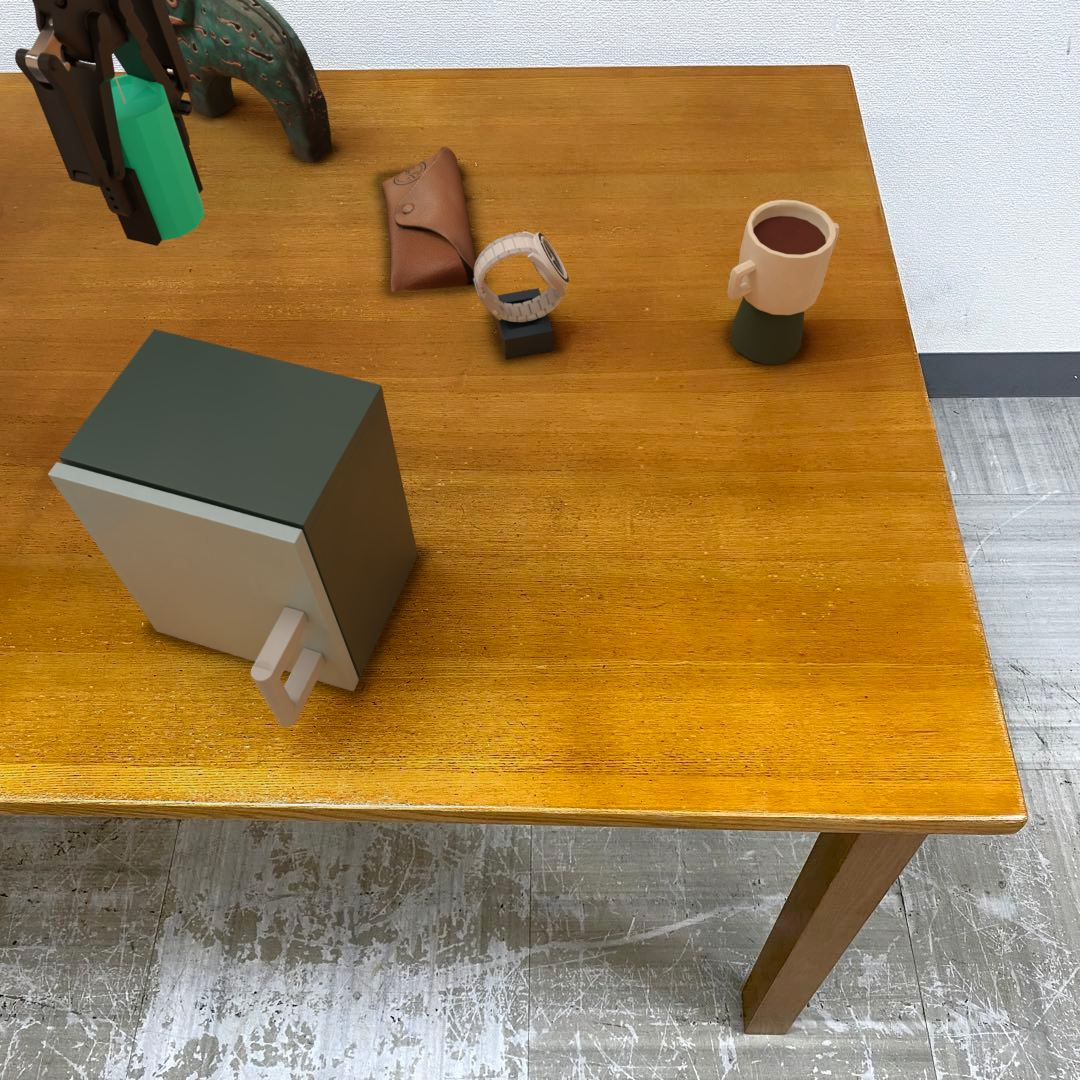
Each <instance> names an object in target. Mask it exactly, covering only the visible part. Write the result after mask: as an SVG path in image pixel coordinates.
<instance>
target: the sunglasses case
mask: <svg viewBox="0 0 1080 1080" xmlns="http://www.w3.org/2000/svg"><path fill="white" fill-rule="evenodd" d="M459 166H460V165H459V163H458V158H457V157H456V153H454V151H453V150H452V149H451V148H449V147H447V146H442V147H441V148H440V149H439V150H438V151H437V153H436V154H433V155H432V156H430V157H429V158H426V159H424V160H423V161H420V162H418V163H417V164H415V165H412V166H411V167H409V168H407V169H405V170H404V171H401V172H399V173H398V174H396V175H395V176H393V177H391V178H389V179H387V180H385V181H383V182H382V183H381V189H382V193H383V194H382V195H383V198H384V202H385V203H384V204H385V208H386V215H387V225H388V237H389V250H390V291H391V292H393V293H396V292H399V291H422V290H423V291H424V290H433V289H444V288H455V287H464V286H471V285H473V287H475V283H474V279H473V278H475V277H474V266H475V263H476V260H477V259H476V255H475V254H476V253H475V248H474V243H473V242H474V241H473V236H472V230H471V225H470V220H469V219H470V218H469V213H468V207H467V203H466V197H465V196H466V195H465V191H464V186H463V180H462V174H461V171H460V167H459Z"/></svg>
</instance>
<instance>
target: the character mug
mask: <svg viewBox="0 0 1080 1080" xmlns="http://www.w3.org/2000/svg"><path fill="white" fill-rule="evenodd" d="M839 234H840V225H839V223H838V222H834V220H833V219H832V218H831V217H830V216H829V215H828V213H827V212H825V211H824V210H822V209H820V208H819V207H817V206H815V205H814V204H810V203H807V202H803V201H801V200H800V201H799V200H796V199H776V200H770V201H767V202H764V203H761V204H760V205H759V206H757V207H756V208H755V209H754V210H752V211H751V213H750V215H749V217H748V220H747V222H746V224H745V227H744V233H743V238H742V240H741V245H740V249H739V259H738V263H737V265H735V266H734V267H733V268H732V269H731V271H730V274H729V279H728V285H727V290H726V292H727V297H728V300H731V301H735V300H738V299H741V301H740V303H739V306H738V309H737V311H736V313H735V317H734V319H733V323H732V326H731V328H730V329H731V330H730V344H731V346H732V347H733V348H734V349H735V351H736V352H737V353H738V354H740V355H742V356H743V357H744V358H747V359H748V360H749V361H752V362H756V363H759V364H763V365H766V366H767V365H781V364H784V363H785V362H788V361H789V360H792V359H793V358H795V356H796V355H797V353H798V352H799V350H800V349H801V347H802V340H803V333H804V322H805V311H807V310H808V309H809V308H810V307H811V306H813V305H815V303H816V302H817V300H818V297H819V295H820V293H821V290H822V288H823V285H824V281H825V279H826V274H827V271H828V267H829V264H830V260H831V256H832V255H833V253H834V250H835V248H836V245H837V241H838V239H839V238H838V237H839Z"/></svg>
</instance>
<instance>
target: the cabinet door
mask: <svg viewBox="0 0 1080 1080" xmlns="http://www.w3.org/2000/svg"><path fill="white" fill-rule="evenodd" d="M47 476H48V477H49V479H50V480H51V481H52V483H53V484H54V486H55V487H56V489H57V490H58V491H59V493H60V495H61V496H62V497H63V499H64V501H65V502H66V503H67V505H68V506H69V507H70V509H71V511H72V512H73V513H74V514H75V516H76V517H77V519H78V520H79V522H80V523H81V525H82V526H83V527H84V530H85V531H86V532H87V534H88V535H89V536H90V538H91V539H92V540H93V542H94V543H95V545H96V546H97V548H98V549H99V551H100V552H101V553H102V555H103V557H104V558H105V559H106V561H107V563H108V564H109V565H110V567H111V568H112V569H113V571H114V572H115V574H116V575H117V576H118V578H119V580H120V581H121V583H122V584H123V585H124V587H125V588H126V590H127V591H128V592H129V594H130V595H131V597H132V598H133V600H134V602H136V604H137V605H138V607H139V608H140V610H141V611H142V613H143V614H144V615H145V617H146V618H147V620H148V621H149V622H150V624H151V625H152V627H153V628H154V630H155V631H156V633H157V632H158V633H161V634H164V635H167V636H170V637H172V638H177V639H181V640H184V641H186V642H190V643H192V644H197V645H200V646H204V647H206V648H210V649H213V650H216V651H219V652H223V653H225V654H230V655H233V656H236V657H239V658H242V659H245V660H248V661H251V662H252V661H253V662H254V664H253V665H252V667H251V669H250V676H251V678H252V680H253V682H254V683H255V685H256V687H257V688H258V691H259V692H260V694H261V695H262V698H263V699H264V701H265V703H266V704H267V707H268V708H269V710H270V711H271V712H272V715H273V717H274V718H275V719H276V722H277V723H278V725H280V726H281V727H283V728H289V727H293V726H294V725H295V724H296V723H297V722H298V720H299V718H300V715H301V714H302V712H303V709H304V707H305V705H307V704H306V703H307V701H308V700H309V698H310V695H311V693H312V692H313V689H314V688H315V685H316V684H317V682H321V683H324V684H327V685H330V686H333V687H337V688H340V689H344V690H347V691H350V692H354V691H355V689H356V688H357V686H358V683H359V681H360V679H359V677H358V676H357V674H356V671H355V668H354V666H353V663H352V660H351V658H350V655H349V652H348V650H347V647H346V645H345V642H344V639H343V637H342V634H341V631H340V629H339V626H338V623H337V621H336V618H335V615H334V613H333V610H332V608H331V605H330V602H329V600H328V597H327V594H326V592H325V589H324V586H323V584H322V581H321V578H320V576H319V573H318V571H317V568H316V565H315V563H314V560H313V557H312V555H311V552H310V549H309V547H308V544H307V541H306V539H305V536H304V534H303V531H302V530H301V529H298V528H294V527H290V526H287V525H283V524H279V523H276V522H272V521H269V520H265V519H261V518H258V517H254V516H251V515H247V514H243V513H240V512H236V511H232V510H229V509H225V508H222V507H218V506H214V505H211V504H207V503H203V502H200V501H196V500H193V499H189V498H185V497H182V496H178V495H174V494H171V493H167V492H164V491H160V490H156V489H153V488H149V487H146V486H142V485H138V484H135V483H131V482H127V481H124V480H120V479H117V478H113V477H109V476H106V475H102V474H98V473H95V472H91V471H88V470H84V469H80V468H77V467H73V466H69V465H66V464H63V463H62V462H58V461H57V462H55V463H54V465H53V466H52V467H51V469H50V470H49V471H48V473H47ZM284 672H288V673H290V674H289V676H288V678H287V680H286V681H285V683H283V682H282V679H281V677H282V675H283V673H284Z"/></svg>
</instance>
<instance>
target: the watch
mask: <svg viewBox="0 0 1080 1080" xmlns="http://www.w3.org/2000/svg"><path fill="white" fill-rule="evenodd" d="M520 255H522V256H524V255H527V258H528V260H529V261H530V262H531V263H532V265H533V267H534V268H535V270H536V272H537V273H538V275H539V276H540V278H541V279H542V281H543V282H544V283H545V284H546V285H547V286H548V287H547V288H546V289H545V290H544V291H543V292H542V293H541V291H540V289H539V287H537V288H531V289H525V290H519V291H514V292H508V293H502V294H495V293H494V292H493V291H492V290H491V289H490V287H488V285H487V283H486V282H485V277H486V274H488V273H489V271H490V270H491V269H493V268H494V267H495V266H496V265H498V264H499V263H500V262H501V261H502V262H503V261H505V260H506V259H509V258H510V257H511V258H512V257H516V256H520ZM475 260H476V263H475V266H474V277H475V278H473V279H474V283H475V286H474V287H475V289H476V294H477V296H478V299H479V300H480V302H481V303H482V305H483V306H484V308H485V309H486V310H487V311H488V312H489V313H490V314H491V315H492V317H493V321H494V324H495V328H496V331H497V334H498V335H497V336H498V338H499V341H500V345H501V349H502V351H503V354H504V358H505V360H510V359H517V358H522V357H527V356H532V355H537V354H542V353H548V352H553V351H554V330H553V326H552V323H551V321H550V317H549V315H548V314H550V313H551V312H552V311H554V310H555V309H556V308H557V307H558V306H559V305H560V303H561V302H562V300H563V298H564V297H565V296H566V295H567V287H566V286H567V285H569V284H570V279H569V275H568V272H567V269H566V267H565V265H564V264H563V262H562V260H561V257H560V256H559V254H558V253H557V251H556V250H555V248H554V246H553V245H552V243H551V242H550V241H549V240H548V238H547V237H546V236H545V234H543V233H541V232H539V231H538V232H536V233H532V232H530V231H526V230H525V231H524V230H523V231H522V232H517V233H510V234H507V235H504V236H501V237H499V238H497V239H495V240H494V241H492V242H490V243H489V244H488V245H486V246H485V248H484V249H483V250H481V252H480V254H479V255H478V257H477V258H476V259H475Z"/></svg>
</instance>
